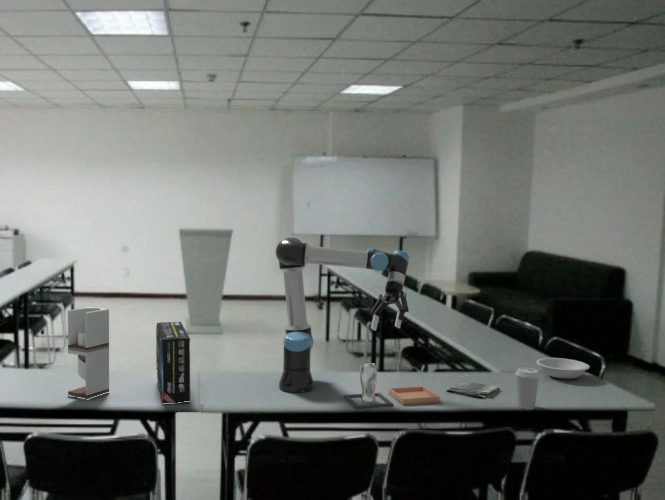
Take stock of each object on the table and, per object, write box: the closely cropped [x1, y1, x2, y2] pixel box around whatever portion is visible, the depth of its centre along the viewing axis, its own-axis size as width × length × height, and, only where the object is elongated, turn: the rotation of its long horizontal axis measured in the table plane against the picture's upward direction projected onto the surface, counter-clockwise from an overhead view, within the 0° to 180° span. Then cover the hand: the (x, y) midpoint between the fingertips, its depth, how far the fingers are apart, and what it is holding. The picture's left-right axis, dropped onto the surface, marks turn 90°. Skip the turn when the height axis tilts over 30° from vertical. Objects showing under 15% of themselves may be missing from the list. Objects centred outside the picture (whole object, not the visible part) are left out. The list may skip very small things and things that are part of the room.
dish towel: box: [445, 380, 501, 400], centre depth 274 cm, size 19×18×3 cm
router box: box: [155, 321, 191, 404], centre depth 263 cm, size 36×11×27 cm, turn 20°
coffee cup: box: [514, 367, 541, 411], centre depth 253 cm, size 10×10×15 cm
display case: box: [67, 306, 110, 399], centre depth 256 cm, size 11×11×35 cm
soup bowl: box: [535, 357, 591, 380], centre depth 301 cm, size 24×24×7 cm
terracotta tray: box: [387, 385, 440, 406], centre depth 262 cm, size 16×16×2 cm
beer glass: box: [359, 362, 378, 405], centre depth 256 cm, size 7×7×15 cm
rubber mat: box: [342, 392, 395, 410], centre depth 256 cm, size 16×16×1 cm
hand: (385, 328), depth 269 cm, fingers open, 13 cm apart
